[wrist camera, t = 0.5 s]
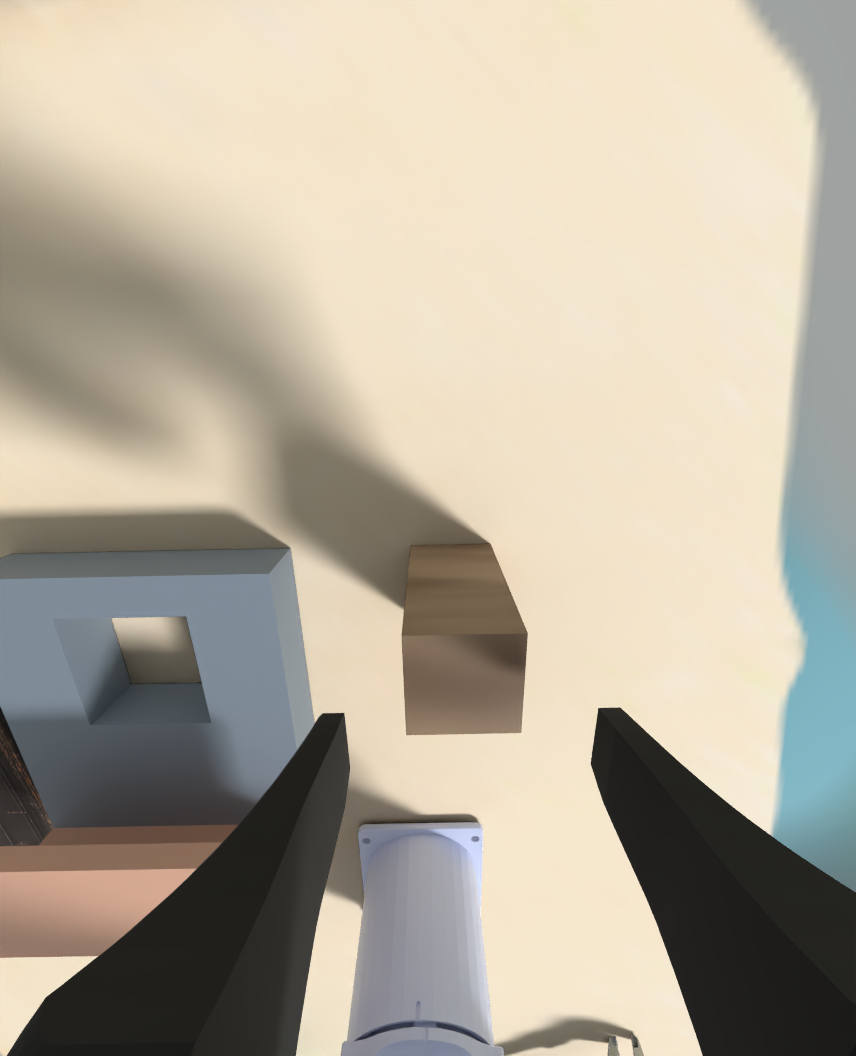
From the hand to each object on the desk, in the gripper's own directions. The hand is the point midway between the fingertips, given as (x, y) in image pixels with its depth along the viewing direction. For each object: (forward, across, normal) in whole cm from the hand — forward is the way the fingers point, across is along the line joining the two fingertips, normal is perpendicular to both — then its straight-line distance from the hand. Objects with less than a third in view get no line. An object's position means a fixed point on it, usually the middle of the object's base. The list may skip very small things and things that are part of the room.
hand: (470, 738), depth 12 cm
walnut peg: (+10, 0, 0) cm, 10 cm away
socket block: (+10, +15, +6) cm, 19 cm away
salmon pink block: (+7, +15, +11) cm, 20 cm away
